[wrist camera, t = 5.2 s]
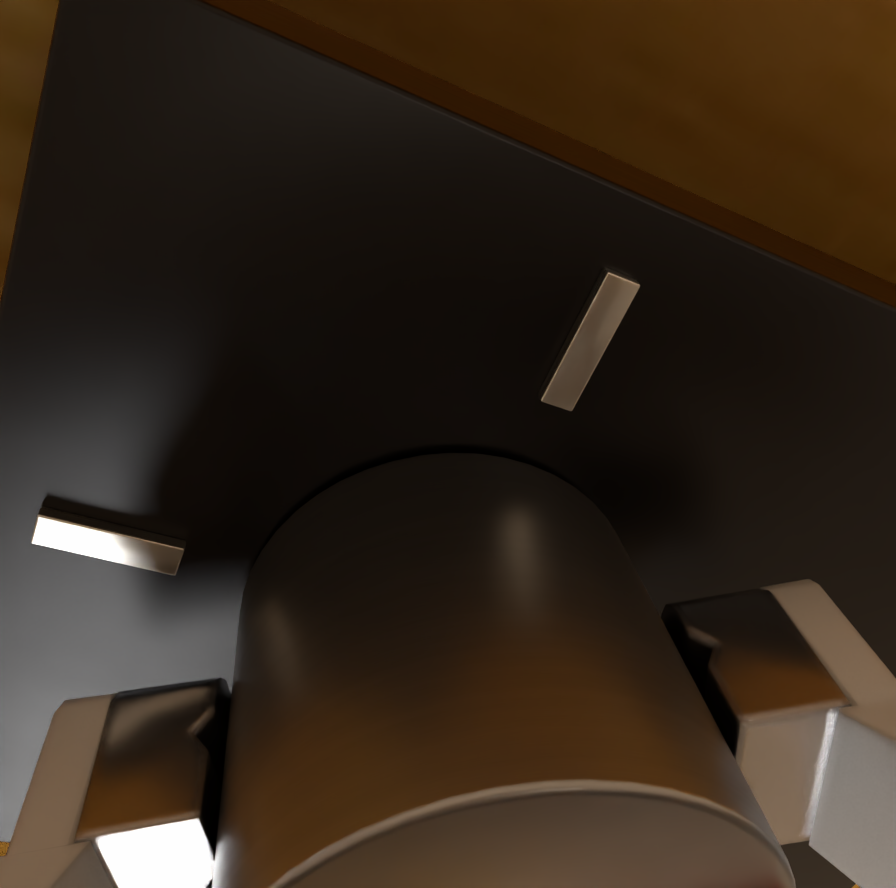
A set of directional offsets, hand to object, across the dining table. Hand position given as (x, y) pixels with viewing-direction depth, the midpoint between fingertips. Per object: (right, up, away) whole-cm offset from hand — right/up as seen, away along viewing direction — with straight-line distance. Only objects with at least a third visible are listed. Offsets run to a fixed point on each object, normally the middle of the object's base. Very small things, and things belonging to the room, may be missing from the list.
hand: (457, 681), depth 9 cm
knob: (0, 0, +1) cm, 1 cm away
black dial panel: (+1, +1, +4) cm, 5 cm away
